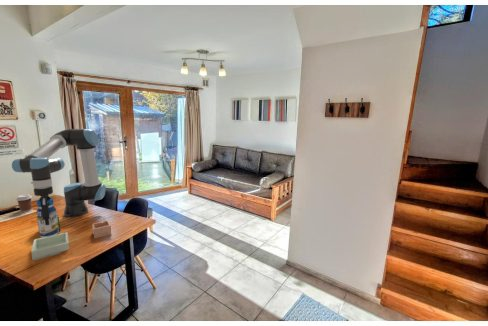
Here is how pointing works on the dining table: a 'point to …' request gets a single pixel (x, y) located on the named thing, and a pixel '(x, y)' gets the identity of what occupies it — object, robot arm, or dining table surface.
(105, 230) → the pink box
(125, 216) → the dining table surface
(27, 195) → the coffee cup
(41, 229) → the beverage bottle
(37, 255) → the green box
